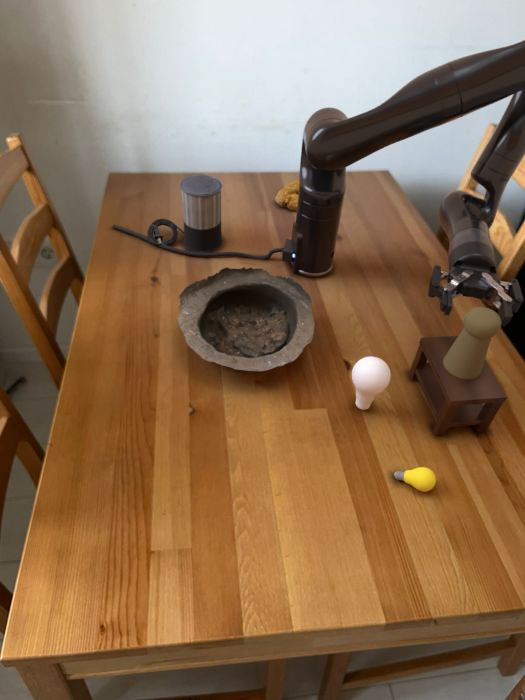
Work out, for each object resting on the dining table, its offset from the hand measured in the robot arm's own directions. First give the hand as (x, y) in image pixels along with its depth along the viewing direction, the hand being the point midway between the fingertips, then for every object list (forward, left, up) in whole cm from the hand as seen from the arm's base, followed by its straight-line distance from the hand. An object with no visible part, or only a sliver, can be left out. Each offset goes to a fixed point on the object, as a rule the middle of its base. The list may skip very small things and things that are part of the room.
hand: (476, 316), depth 79 cm
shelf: (-1, -3, -17) cm, 17 cm away
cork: (-1, -3, -8) cm, 9 cm away
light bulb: (-12, -18, -17) cm, 28 cm away
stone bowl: (-34, +14, -17) cm, 41 cm away
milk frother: (-45, +49, -17) cm, 69 cm away
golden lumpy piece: (-16, +66, -17) cm, 70 cm away
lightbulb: (-16, -3, -17) cm, 24 cm away
